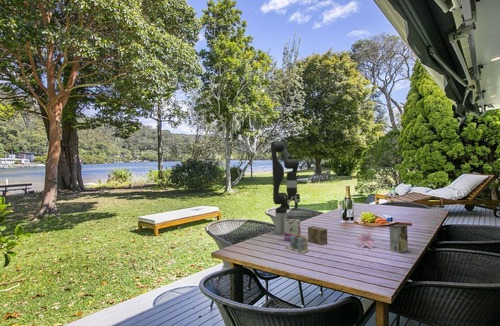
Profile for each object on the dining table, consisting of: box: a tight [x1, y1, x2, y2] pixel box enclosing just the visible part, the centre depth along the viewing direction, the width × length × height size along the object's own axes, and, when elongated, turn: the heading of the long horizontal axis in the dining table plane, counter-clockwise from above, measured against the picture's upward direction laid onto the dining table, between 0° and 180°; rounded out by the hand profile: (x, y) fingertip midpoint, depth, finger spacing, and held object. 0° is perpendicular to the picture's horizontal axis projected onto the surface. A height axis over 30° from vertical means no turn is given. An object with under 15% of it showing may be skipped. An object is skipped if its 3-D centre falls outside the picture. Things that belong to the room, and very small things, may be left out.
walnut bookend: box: [307, 225, 328, 246], centre depth 199 cm, size 12×6×10 cm, turn 38°
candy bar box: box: [283, 218, 302, 242], centre depth 205 cm, size 11×5×16 cm, turn 62°
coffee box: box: [389, 223, 409, 254], centre depth 181 cm, size 9×6×16 cm
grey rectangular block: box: [285, 234, 310, 255], centre depth 193 cm, size 15×27×10 cm, turn 128°
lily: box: [355, 231, 377, 250], centre depth 191 cm, size 12×12×10 cm
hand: (292, 209), depth 205 cm, fingers open, 8 cm apart
